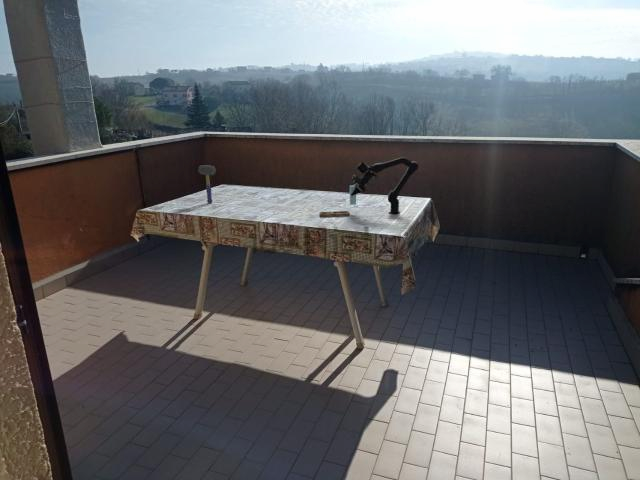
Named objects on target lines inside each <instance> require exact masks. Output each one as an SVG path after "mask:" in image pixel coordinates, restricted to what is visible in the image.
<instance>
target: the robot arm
mask: <svg viewBox="0 0 640 480" xmlns="http://www.w3.org/2000/svg"><path fill="white" fill-rule="evenodd" d="M401 164H403V165H404V166H406V167H407V168H406V171H405V173H404V175H403V176H402V177H401V179H400V181H399V182H398V183H397V185H396V186H395V188H394V189H393V190H392V189H391V190H390V191H389V193H388V194H387V200H388V202H389V204H390V211H389V212H388V214H392V215H398V214H400V213H401V211H400V210H399V209H400V200H399V199H398V197H399V194H400V192H401V191H402V189H403V187H404V186H405V185H406V183H407V181H408V180H410V177H411V176H412V175H413V174H414V173H415V172H416V171H417V170H418V168H419V164H418V162H417V161H415V160H413V161H412V160H410V159H408V158H406V157H404V156H401V157H398V158H395V159H393V160H392V159H391V160H389V161H388V160H387V161H385V162H377V163H374V164H373V165H367V164H366V163H365V161H362V162H361V163H359V164H358V165H357V166H356V167H355V169H356V170H357V171H358V172H359V173H360V174H363V175H362V176H359V175H355V174H352V176H351V180H352V183H353V185H355V189H354V191H353V192H352V194H351V196H353V195H355V194H356V195H357V194H360V193H362V192H363V193H365V192H366V191H367V188H365V187H366V186H367V185H368V184H369V182H370V181H371V180H372V179H373V178H375V179H377V178H378V173H380V172H382V171H383V170H385V169H387V168H392V167H394V166H395V167H396V166H397V165H401Z"/></svg>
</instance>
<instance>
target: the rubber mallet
mask: <svg viewBox="0 0 640 480" xmlns="http://www.w3.org/2000/svg"><path fill="white" fill-rule="evenodd" d="M197 171H198V173H199V174H200V175H203V176H204V175H205V182H206V186H205V188H206V196H207V197H206V198H207V200H206V201H207V203H208V204H212V203H213V198H212V197H213V196H212V187H211V183H210V182H211V181H210V176H213V175H215V174H216V172H217V169H216V167H215V165H210V164H209V165H208V164H205V165H204V164H203V165H199V166H198V169H197Z"/></svg>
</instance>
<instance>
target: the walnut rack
mask: <svg viewBox="0 0 640 480" xmlns="http://www.w3.org/2000/svg"><path fill="white" fill-rule="evenodd" d="M332 211H333V213H331V214H326V213H327V211H319V217H320V218H331V217H332V218H334V217H350V215H351V214H350V211H349V210H337V211H336V210H335V211H334V210H332Z"/></svg>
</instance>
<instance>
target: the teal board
mask: <svg viewBox="0 0 640 480" xmlns="http://www.w3.org/2000/svg"><path fill="white" fill-rule="evenodd" d="M354 189H355V184H353V185H349V204H350V206H353V205H357V194H355V195H353V196H351V194H352V192H353V191H354Z"/></svg>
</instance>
